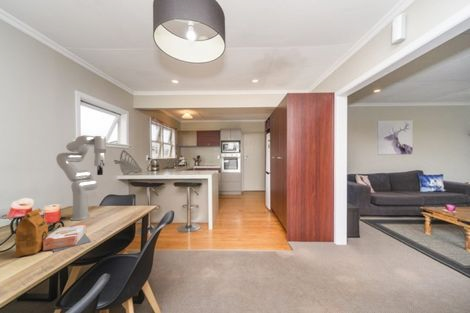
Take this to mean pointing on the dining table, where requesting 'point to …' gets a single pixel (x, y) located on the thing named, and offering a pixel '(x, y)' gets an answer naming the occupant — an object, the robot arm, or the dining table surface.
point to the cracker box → (64, 237)
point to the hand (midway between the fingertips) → (99, 174)
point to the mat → (83, 240)
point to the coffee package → (30, 234)
